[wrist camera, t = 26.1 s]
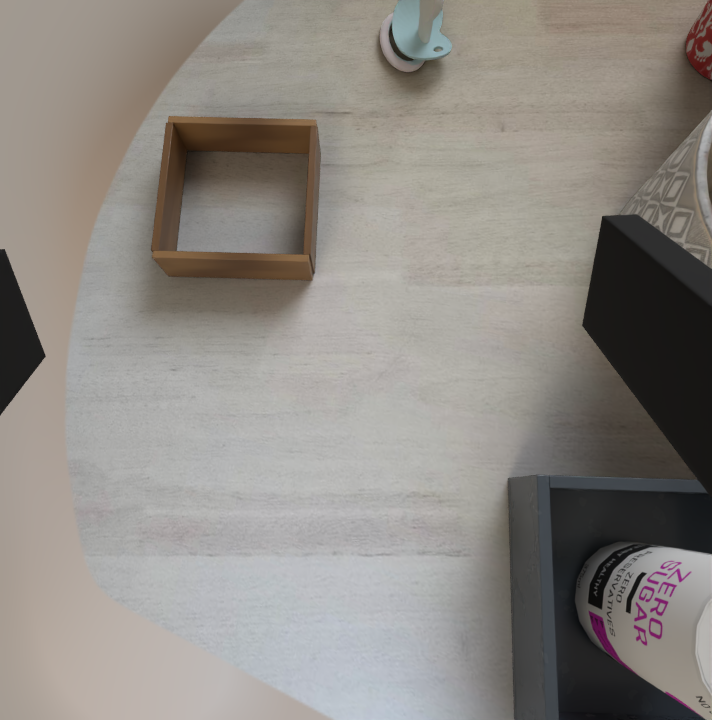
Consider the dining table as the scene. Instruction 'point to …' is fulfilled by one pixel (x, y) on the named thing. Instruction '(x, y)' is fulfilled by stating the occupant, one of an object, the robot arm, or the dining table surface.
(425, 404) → the dining table surface
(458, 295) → the dining table surface
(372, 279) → the dining table surface
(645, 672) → the supplement can
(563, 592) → the grey storage bin
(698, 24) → the mug
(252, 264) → the box
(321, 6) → the dining table surface
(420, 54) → the pacifier
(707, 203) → the planter
